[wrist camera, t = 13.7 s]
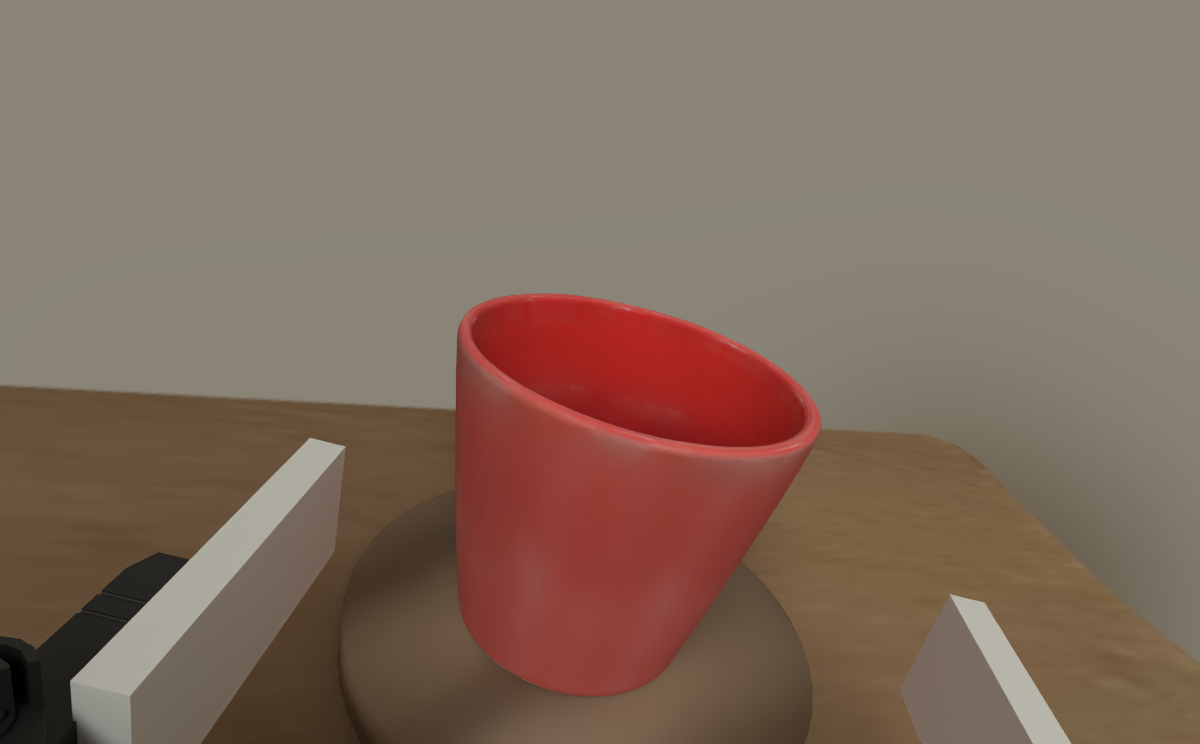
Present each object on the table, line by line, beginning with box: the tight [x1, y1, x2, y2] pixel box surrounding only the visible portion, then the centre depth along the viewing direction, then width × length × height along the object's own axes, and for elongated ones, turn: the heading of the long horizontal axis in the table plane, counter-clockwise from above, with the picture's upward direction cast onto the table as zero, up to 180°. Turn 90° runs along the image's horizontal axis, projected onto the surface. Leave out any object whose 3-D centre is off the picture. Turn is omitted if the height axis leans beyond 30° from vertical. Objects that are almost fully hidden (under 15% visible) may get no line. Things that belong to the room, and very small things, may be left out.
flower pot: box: [455, 294, 821, 697], centre depth 23 cm, size 11×11×10 cm
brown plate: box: [338, 491, 812, 744], centre depth 25 cm, size 16×16×2 cm
